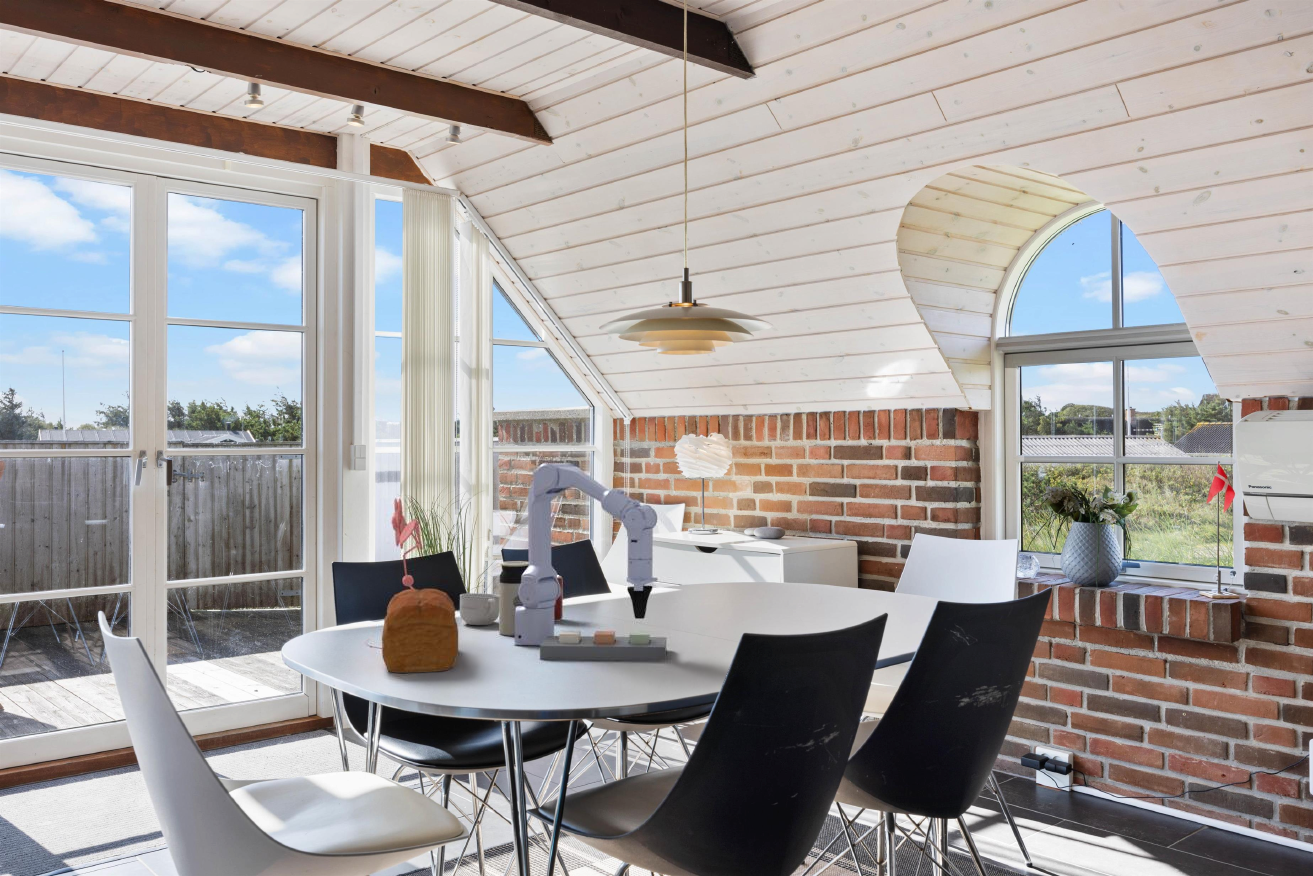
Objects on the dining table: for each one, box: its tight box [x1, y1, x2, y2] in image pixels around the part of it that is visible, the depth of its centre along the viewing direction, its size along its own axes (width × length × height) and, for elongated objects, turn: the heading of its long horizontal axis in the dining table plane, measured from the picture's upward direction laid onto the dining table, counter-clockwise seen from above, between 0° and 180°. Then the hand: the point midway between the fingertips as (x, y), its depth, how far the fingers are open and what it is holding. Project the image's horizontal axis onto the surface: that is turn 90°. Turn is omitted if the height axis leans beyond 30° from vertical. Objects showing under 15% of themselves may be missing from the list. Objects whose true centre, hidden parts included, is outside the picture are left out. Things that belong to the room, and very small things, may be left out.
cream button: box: [558, 630, 582, 643], centre depth 230 cm, size 4×4×3 cm
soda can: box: [554, 575, 564, 623], centre depth 276 cm, size 7×7×12 cm
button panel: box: [539, 635, 667, 662], centre depth 230 cm, size 28×12×3 cm, turn 88°
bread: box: [381, 588, 459, 674], centre depth 224 cm, size 16×27×16 cm, turn 14°
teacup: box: [459, 592, 499, 626], centre depth 268 cm, size 14×11×8 cm
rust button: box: [593, 630, 616, 644], centre depth 230 cm, size 4×4×3 cm
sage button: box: [629, 630, 651, 644], centre depth 230 cm, size 4×4×3 cm
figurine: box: [363, 497, 423, 650], centre depth 245 cm, size 15×26×35 cm, turn 19°
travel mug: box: [498, 560, 529, 637], centre depth 256 cm, size 8×8×18 cm
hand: (639, 618), depth 230 cm, fingers closed
